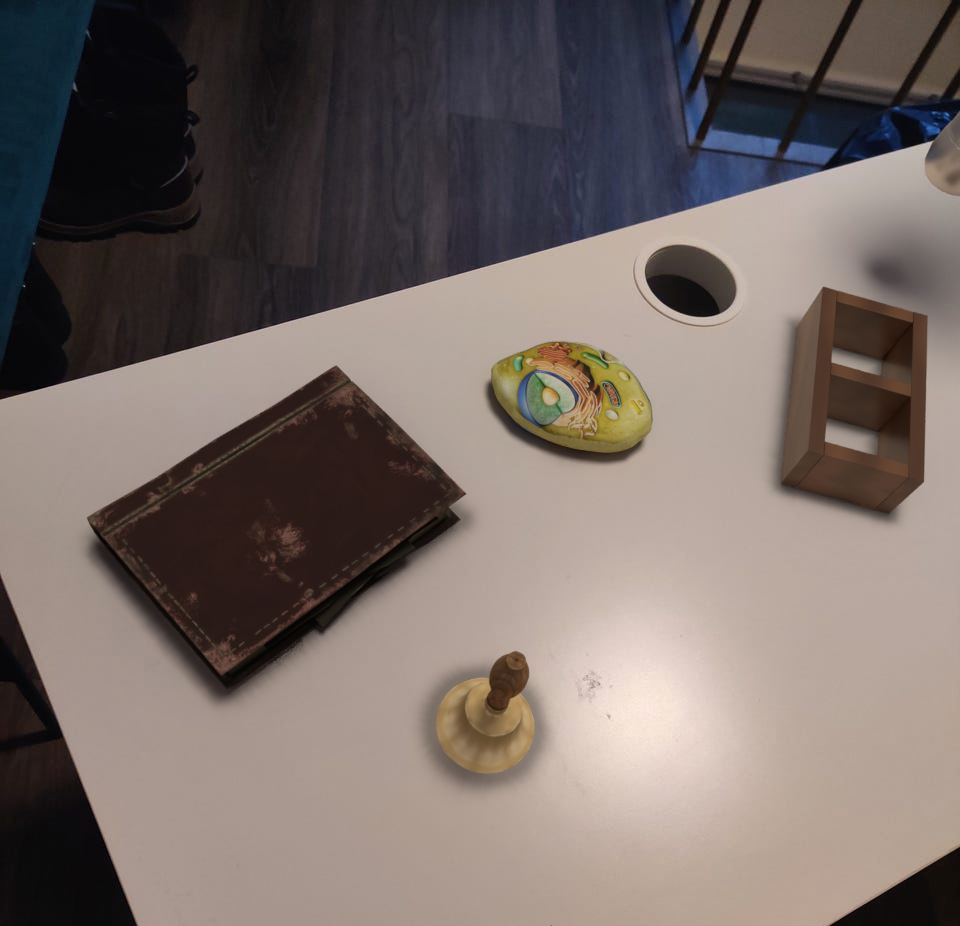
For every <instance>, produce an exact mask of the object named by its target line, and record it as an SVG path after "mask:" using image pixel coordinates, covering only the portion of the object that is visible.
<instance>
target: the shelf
mask: <svg viewBox="0 0 960 926" xmlns="http://www.w3.org/2000/svg"><path fill="white" fill-rule="evenodd" d="M928 318H929V316H928V315H927V314H923V313H920V312H916V311H912V310H909V309H906V308H902V307H898V306H894V305H892V304H891V305H890V304H887V303H884V302H880V301H876V300H872V299H869V298H865V297H862V296H858V295H855V294H852V293H849V292H844V291H841V290H837V289H835V288H830V287H827V286H822V287H821V289H820V291H819V292H818V294H817V295H816V296H815V298H814V300H813V301H812V302H811V304H810V305H809V307H808V309H807V311H806V312H805V313H804V315H803V317H802V318H801V320H800V321H799V322H798V324H797V326H796V332H795V333H796V334H795V343H794V351H793V352H794V353H793V361H792V370H791V379H790V380H791V382H790V389H789V399H788V410H787V417H786V418H787V419H786V428H785V429H786V430H785V438H784V447H783V456H782V457H783V458H782V465H781V466H782V467H781V477H780V484H781V485H783V486H788V487H791V488H795V489H798V490H802V491H805V492H810V493H813V494H817V495H821V496H824V497H828V498H832V499H835V500H838V501H842V502H847V503H850V504H854V505H857V506H861V507H864V508H868V509H871V510H876V511H879V512H882V513H886V514H891V513H892V512H893V511H894V510H895V509H896V508H897V507H898V506H900V504H902V503H903V502H904V501H905V500H906V499H907V498H908V497H910V496H911V495H912V494H913V493H914V492H915V491H916V490H917V489H919V488H920V487H921V486H922V485H923V484H924V483H925V463H926V461H925V460H926V459H925V458H926V457H925V456H926V420H927V419H926V417H927V411H926V410H927V373H928V372H927V370H928V369H927V368H928V367H927V366H928V360H927V359H928V322H929V321H928V320H929V319H928ZM833 348H836V349H839V350H843V351H847V352H851V353H854V354H858V355H861V356H864V357H869V358H872V359H876V360H879V361H881V372H880V373H881V374H880V375H879V374H874V373H871V372H868V371H864V370H861V369H857V368H854V367H850V366H846V365H843V364H839V363H835V362H832V358H833ZM828 419H832V420H834V421H835V420H836V421H839V422H842V423H846V424H850V425H853V426H856V427H859V428H864V429H866V430H867V429H868V430H871V431H874V432H878V436H877V437H878V439H877V453H876V455H875V454H871V453H868V452H865V451H861V450H857V449H853V448H849V447H846V446H843V445H839V444H835V443H832V442H828V441H826V435H827V434H826V432H827V421H828Z"/></svg>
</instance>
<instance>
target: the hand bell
mask: <svg viewBox="0 0 960 926" xmlns="http://www.w3.org/2000/svg"><path fill="white" fill-rule="evenodd" d="M529 678H530V667H529V664H528V662H527V659H526V656H525V654H524V653H522V652H520V651H517V650H514V651H511V652H510V653H506V654H504V655H501V656H500V657H498V658H497V659H496V660H495V662H494V663H493V665H492V667H491V669H490V671H489V676H488V677H476V678H470V679H467V680H464V681H461V682H460V683H458V684H457V685H455V686H453V687H452V688H451V689H450V690H449V691H448V692H447V693H446V694H445V695H444V696H443V698H442V700H441V701H440V703H439V706H438V707H437V711H436V716H435V732H436V737H437V740H438V742H439V745H440V747H441V749H442V750H443V752H444V753H445V754H446V756H447V757H448V758H449V759H450V760H451V761H453V762H454V764H456V765H458V766H459V767H461V768H463V769H465V770H467V771H470V772H472V773H476V774H496V773H501V772H503V771H507V770H509V769H510V768H513V767H514V766H516V765H517V764H518V763H519V762H520V761H521V760H523V759H524V757H525V756H526V755H527V753H528V751H529V750H530V748H531V746H532V742H533V740H534V737H535V718H534V714H533V712H532V709H531V707H530V705H529V703H528V701H527V699H525V697H524V696H523V695H522V694H521V693H522V692H523V691H524V689H525V688H526V686H527V684H528V682H529Z"/></svg>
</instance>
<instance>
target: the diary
mask: <svg viewBox="0 0 960 926" xmlns="http://www.w3.org/2000/svg"><path fill="white" fill-rule="evenodd" d="M466 495H467V492H466V491H465V490H464V489H463V488H462V487H460V485H459V484H457V483H456V482H455V481H454V480H453V479H452V477H451V476H450V475H449V474H448V473H446V471H445V470H444V469H443V468H442V467H441V466H440V465H439V464H438V463H437V462H436V461H435V460H434V459H433V458H432V457H431V456H430V455H429V454H428V453H427V452H426V451H425V450H424V449H423V448H422V447H421V446H420V445H419V444H418V443H417V442H416V441H415V440H414V439H413V438H412V437H411V436H410V434H408V433H407V432H406V431H405V430H404V429H403V427H402V426H400V425H399V424H398V423H397V421H395V420H394V418H392V417H391V416H390V415H389V414H387V412H386V411H384V410H383V408H382V407H381V406H379V405H378V403H376V402H375V400H373V399H372V398H371V397H370V396H369V395H368V394H367V393H366V392H365V391H363V389H361V387H359V386H358V385H357V383H355V382H354V381H352V379H351V378H350V377H349V376H348V375H347V374H346V373H345V372H344V371H343V370H342V369H341V368H340V367H339V365H334V366H332V367H330V368H329V369H328V370H325V371H324V372H323V373H321V374H320V375H318V376H316V377H315V378H313V379H312V380H310V381H308V382H307V383H306V384H303V386H301V387H300V388H298V389H296V390H295V391H293V392H292V393H290V394H289V395H287V396H285V397H284V398H282V399H281V400H279V401H278V402H276V403H275V404H273V405H271V406H269V407H268V408H266V409H265V410H263V411H261V412H259V413H257V414H256V415H254V416H252V417H251V418H249V419H247V420H245V421H243V422H242V423H241V424H239V425H237V426H235V427H233V428H232V429H230V430H228V431H226V432H224V433H222V434H221V435H220V436H218V437H216V438H214V439H213V440H211V441H210V442H208V443H207V444H204V445H203V446H202V447H200V448H199V449H198V450H196V451H194V452H193V453H191V454H190V455H188V456H186V457H185V458H183V459H182V460H181V461H179V462H178V463H176V464H175V465H173V466H171V467H170V468H168V469H166V470H165V471H164V472H162V473H161V474H159V475H158V476H156V477H154V478H152V479H150V480H149V481H147V482H146V483H144V484H142V485H140V486H139V487H136V488H135V489H133V490H131V491H130V492H128V493H126V494H124V495H122V496H121V497H119V498H117V499H116V500H114V501H113V502H111V503H109V504H107V505H105V506H104V507H102V508H100V509H99V510H97V511H95V512H93V513H92V514H90V515H88V516H87V517H86V520H87V522H88V524H89V526H90V528H91V530H92V531H93V533H94V535H95V536H96V537H97V540H98V541H99V542H100V543H101V545H102V546H103V548H104V549H106V551H107V552H108V553H109V554H110V556H111V557H112V558H113V559H114V560H115V561H116V562H117V564H118V565H119V566H120V567H121V569H122V570H123V571H124V572H125V573H126V574H127V575H128V577H129V578H130V579H131V580H132V581H133V582H134V584H135V585H136V586H137V587H138V588H139V590H140V591H141V592H142V593H143V594H144V595H145V597H146V598H147V599H148V600H149V601H150V603H152V605H153V606H154V607H155V608H156V610H157V611H158V612H159V613H160V614H161V615H162V617H163V618H164V619H165V620H166V621H167V622H168V623H169V625H170V626H171V627H172V628H173V629H174V630H175V632H176V633H177V634H178V635H179V636H180V637H181V639H182V640H183V641H184V642H185V644H186V645H187V646H188V647H189V648H190V650H192V652H193V653H194V654H195V655H196V656H197V657H198V659H200V661H201V662H202V663H203V664H204V665H205V666H206V668H207V669H208V670H209V671H210V672H211V673H212V675H213V676H214V677H215V678H216V679H217V681H218V682H219V683H220V685H222V686H223V687H224V688H225V690H227V691H229V690H231V689H233V688H235V687H236V686H238V685H240V684H241V683H242V682H244V681H246V680H247V679H248V678H249V677H251V676H252V675H254V674H255V673H256V672H258V671H259V670H261V669H262V668H264V667H265V666H266V665H268V664H269V663H270V662H271V661H273V660H275V659H276V658H277V657H279V656H280V655H281V654H283V653H285V652H286V651H287V650H288V649H290V648H291V647H292V646H294V645H296V644H297V643H298V642H299V641H301V640H302V639H303V638H304V637H306V636H307V635H308V634H310V633H311V632H313V630H315V629H316V628H317V627H319V626H321V627H322V628H324V627H326V625H327V624H328V623H329V622H330V621H331V620H332V619H333V617H335V615H336V614H337V613H338V612H339V611H340V610H341V609H342V608H343V607H345V606H346V605H347V604H349V603H350V602H352V601H353V600H354V599H356V598H357V597H358V596H360V595H361V594H363V593H364V592H366V591H367V590H369V589H370V588H372V587H373V586H375V585H376V584H377V583H378V582H380V581H381V580H382V579H383V578H385V576H387V575H388V574H389V572H385V573H384V574H381V573H383V572H384V571H386V569H388V568H389V567H391V566H392V565H394V564H395V563H396V562H398V561H399V560H400V559H403V558H404V557H406V556H407V555H409V554H411V553H413V552H415V551H417V550H419V549H421V548H423V547H424V546H426V545H428V544H430V543H431V542H432V541H434V540H435V539H437V538H438V537H440V536H441V535H442V534H444V533H445V532H447V531H448V530H449V529H451V528H452V527H454V526H455V525H456V524H458V523H459V522H460V521H461V520H462V519H461V518H460V517H459V516H458V515H457V514H456V513H455V512H454V511H453V509H451V508H450V507H451V506H452V505H453V504H455V503H456V502H458V501H459V500H461V499H462V498H463V497H465V496H466ZM380 574H381V575H380Z"/></svg>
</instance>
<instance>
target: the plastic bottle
mask: <svg viewBox="0 0 960 926" xmlns="http://www.w3.org/2000/svg"><path fill="white" fill-rule="evenodd" d="M924 174H925V177H926V178H927V180H928V182H929V183H930V184H931V185H932V186H933V187H935V188H936V189H937V190H939V191H940V192H943V193H945V194H947V195H951V196H955V197H960V110H959V111H958V112H957V114H956V115H955V117H954V118H953V119H952V120H950V122H948V123H947V125H945V127H943V129H942V130H941V131H940V132H939V134H938V135H936V137H935V138H934V140H933V141H932V142H931V144H930V146H929V149H928V151H927V153H926V155H925V157H924Z"/></svg>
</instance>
